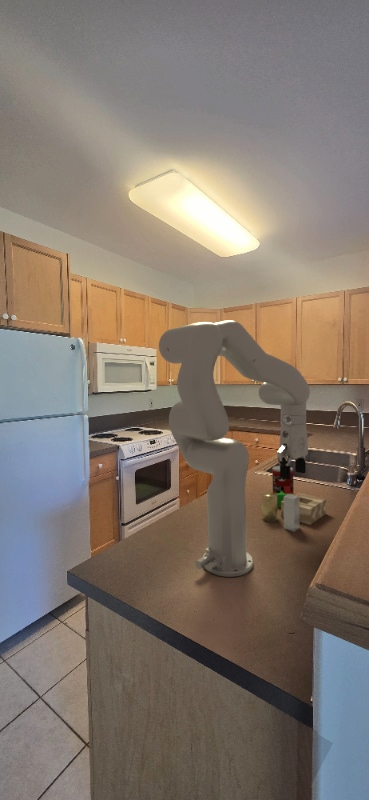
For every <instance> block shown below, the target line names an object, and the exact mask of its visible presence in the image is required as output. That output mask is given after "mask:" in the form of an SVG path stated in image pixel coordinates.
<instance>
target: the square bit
mask: <svg viewBox="0 0 369 800" xmlns="http://www.w3.org/2000/svg"><path fill="white" fill-rule="evenodd" d="M300 523H301V522H300V514H299V496H296V495H295V494H293V495H292V494H288V495H286V496H284V517H283V529H284V530H287V531H291V532H293V533H295V532H296V531H298V530H299V529H300V528H301V526H300Z"/></svg>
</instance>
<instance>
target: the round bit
mask: <svg viewBox="0 0 369 800" xmlns="http://www.w3.org/2000/svg"><path fill="white" fill-rule="evenodd" d="M261 519H262V520H263V521H264V522H272V523H273V522H276V521H278V507H277V494H275V493H273V491H268V492H267V491H266V492H262V493H261Z"/></svg>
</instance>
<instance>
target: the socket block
mask: <svg viewBox="0 0 369 800" xmlns="http://www.w3.org/2000/svg"><path fill="white" fill-rule="evenodd" d="M294 495H296V496H299V514H300V523H302V524H305V525H309V526H310V525H312V524H313V523H315V522H317V521H318V520H319V519H321V518H322V517H323V516H326V515H327V499H326V498H322V497H318V496H314V495H309V494H307V493H306V494H305V493H301V492H297V493H295V494H294ZM280 516H281V517H282V518H284V500H283V501H281V507H280Z"/></svg>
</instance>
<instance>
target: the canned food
mask: <svg viewBox="0 0 369 800" xmlns="http://www.w3.org/2000/svg"><path fill="white" fill-rule="evenodd" d="M271 471H272V472H271V473H272V474H271V475H272V493H281V492H283V493H284V494H293V495H295V494H294V468H293V467H291V478H290V479H284V478H281V477H280V465H274V466H273V467H272V469H271Z"/></svg>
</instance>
